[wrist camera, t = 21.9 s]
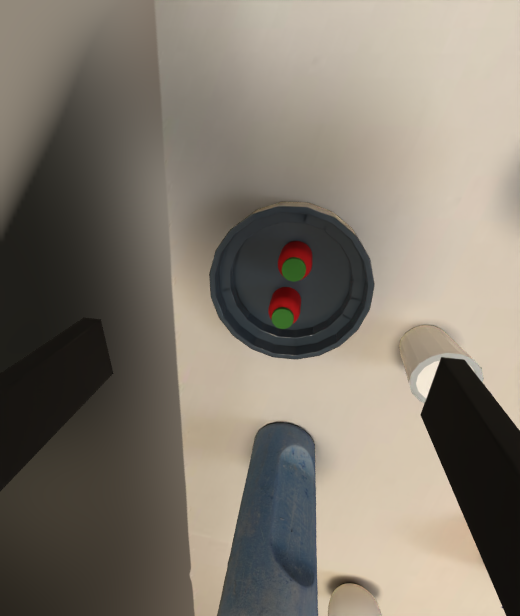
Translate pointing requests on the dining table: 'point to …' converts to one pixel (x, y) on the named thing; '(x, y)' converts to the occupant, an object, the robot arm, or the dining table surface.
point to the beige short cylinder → (429, 357)
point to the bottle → (275, 530)
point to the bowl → (312, 289)
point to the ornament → (352, 602)
